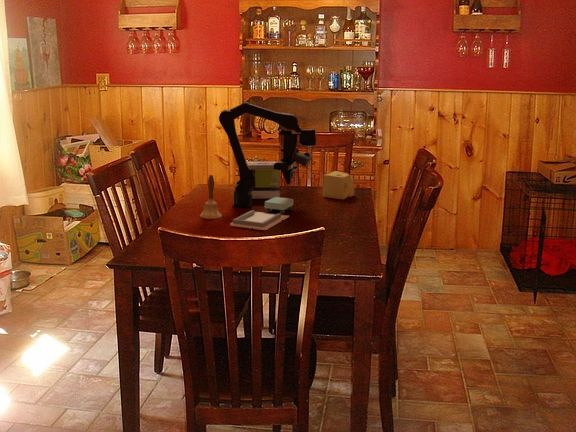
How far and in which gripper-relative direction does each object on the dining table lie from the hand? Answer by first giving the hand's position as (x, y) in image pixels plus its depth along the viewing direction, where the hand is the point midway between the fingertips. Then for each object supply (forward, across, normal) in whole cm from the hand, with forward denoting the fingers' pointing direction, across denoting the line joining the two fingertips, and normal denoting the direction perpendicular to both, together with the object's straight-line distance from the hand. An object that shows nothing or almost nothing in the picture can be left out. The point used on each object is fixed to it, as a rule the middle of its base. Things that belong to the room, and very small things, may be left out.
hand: (288, 184), depth 281 cm
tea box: (+9, +11, +17) cm, 22 cm away
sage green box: (+9, -10, 0) cm, 13 cm away
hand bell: (+9, -29, +20) cm, 36 cm away
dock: (+9, -27, 0) cm, 28 cm away
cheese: (+9, +27, -12) cm, 31 cm away
